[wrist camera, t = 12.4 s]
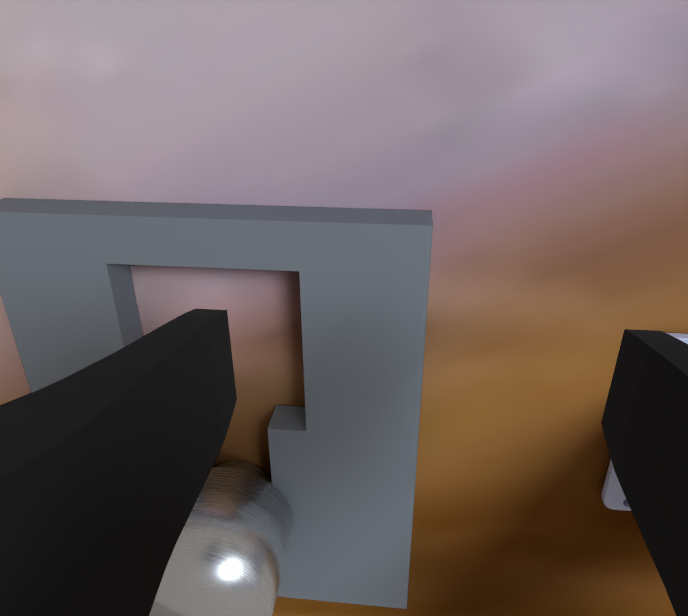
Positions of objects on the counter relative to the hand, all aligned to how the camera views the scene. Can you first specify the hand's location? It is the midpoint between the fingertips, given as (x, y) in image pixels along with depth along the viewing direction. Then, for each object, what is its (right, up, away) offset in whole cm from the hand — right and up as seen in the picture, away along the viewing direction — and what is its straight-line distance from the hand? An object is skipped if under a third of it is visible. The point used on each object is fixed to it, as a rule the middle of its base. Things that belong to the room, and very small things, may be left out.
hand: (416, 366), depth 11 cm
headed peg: (-6, -7, +15) cm, 17 cm away
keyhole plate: (-6, -3, +13) cm, 15 cm away
